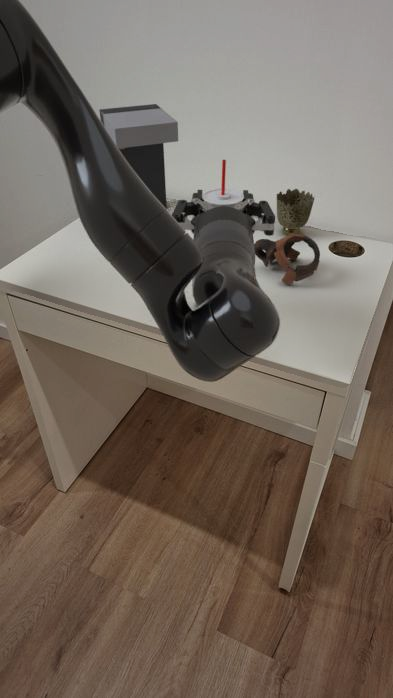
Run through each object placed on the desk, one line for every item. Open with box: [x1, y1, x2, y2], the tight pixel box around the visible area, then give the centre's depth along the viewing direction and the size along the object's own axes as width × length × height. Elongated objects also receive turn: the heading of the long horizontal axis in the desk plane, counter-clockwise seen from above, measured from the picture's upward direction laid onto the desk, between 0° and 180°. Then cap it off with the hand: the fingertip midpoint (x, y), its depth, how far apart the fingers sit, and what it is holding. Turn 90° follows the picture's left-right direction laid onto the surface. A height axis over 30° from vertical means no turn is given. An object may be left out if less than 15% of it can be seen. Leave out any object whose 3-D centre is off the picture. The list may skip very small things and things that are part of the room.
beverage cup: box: [202, 159, 244, 207], centre depth 70 cm, size 6×6×14 cm
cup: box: [276, 188, 315, 236], centre depth 98 cm, size 8×7×8 cm
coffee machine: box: [98, 103, 179, 208], centre depth 100 cm, size 14×12×21 cm
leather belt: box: [254, 233, 321, 286], centre depth 87 cm, size 12×10×8 cm
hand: (222, 196), depth 71 cm, fingers closed on beverage cup, 6 cm apart
